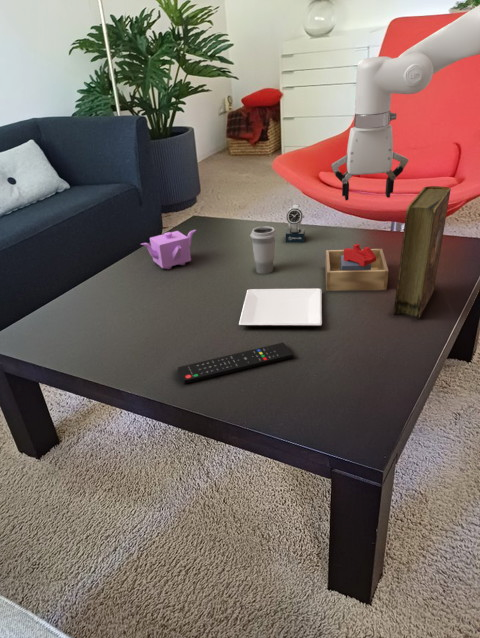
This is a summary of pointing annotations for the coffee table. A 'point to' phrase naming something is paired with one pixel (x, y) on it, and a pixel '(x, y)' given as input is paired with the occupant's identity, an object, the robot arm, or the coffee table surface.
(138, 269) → the coffee table surface
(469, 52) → the robot arm
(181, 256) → the teapot
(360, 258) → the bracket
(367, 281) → the crate
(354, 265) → the grey block
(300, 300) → the plate
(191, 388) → the coffee table surface
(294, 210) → the watch
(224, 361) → the remote control
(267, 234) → the cup
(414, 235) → the book
